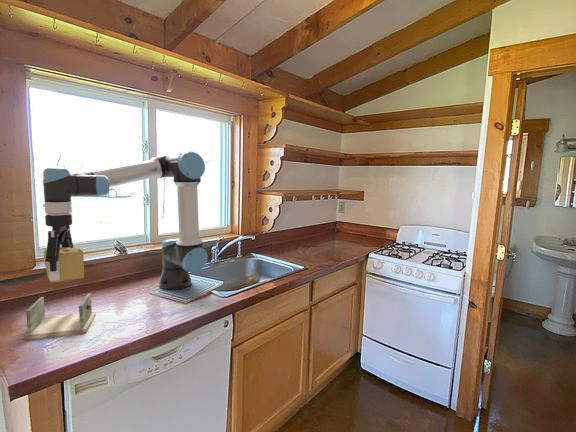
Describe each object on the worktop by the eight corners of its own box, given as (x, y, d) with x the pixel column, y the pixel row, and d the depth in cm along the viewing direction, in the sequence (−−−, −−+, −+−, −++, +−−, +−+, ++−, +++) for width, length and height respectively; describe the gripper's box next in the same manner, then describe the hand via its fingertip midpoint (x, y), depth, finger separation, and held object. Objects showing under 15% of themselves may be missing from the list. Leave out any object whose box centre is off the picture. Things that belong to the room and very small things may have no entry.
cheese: (79, 271, 123) (78, 244, 121) (85, 278, 115) (84, 250, 114) (44, 276, 116) (43, 248, 114) (49, 284, 108) (47, 254, 107)
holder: (95, 315, 126) (94, 292, 125) (86, 332, 113) (84, 306, 111) (40, 321, 120) (38, 296, 119) (23, 339, 107) (21, 312, 106)
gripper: (58, 209, 122) (60, 265, 125) (30, 219, 99) (34, 286, 102) (81, 209, 125) (83, 264, 127) (59, 218, 101) (62, 285, 104)
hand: (61, 274), depth 114 cm, fingers closed on cheese, 13 cm apart
